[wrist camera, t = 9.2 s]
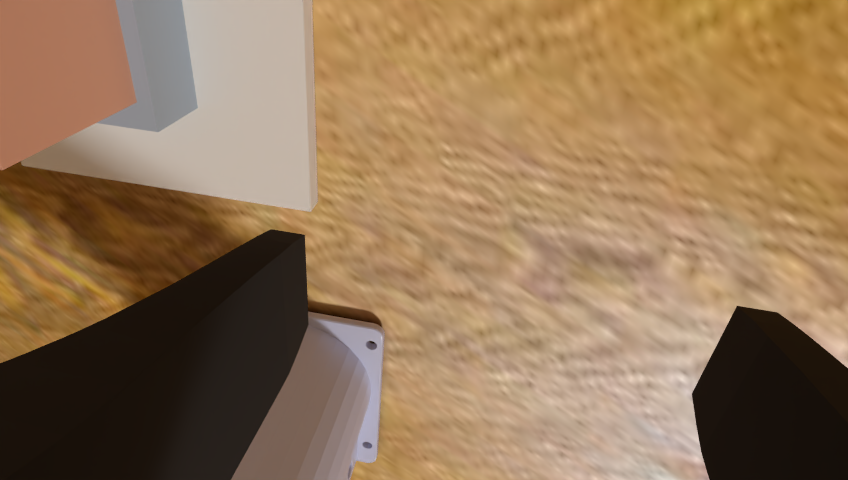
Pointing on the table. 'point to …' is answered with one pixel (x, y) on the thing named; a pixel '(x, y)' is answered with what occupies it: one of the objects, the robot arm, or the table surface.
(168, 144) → the board
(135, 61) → the base brick
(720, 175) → the table surface
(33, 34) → the top brick
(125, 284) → the table surface
